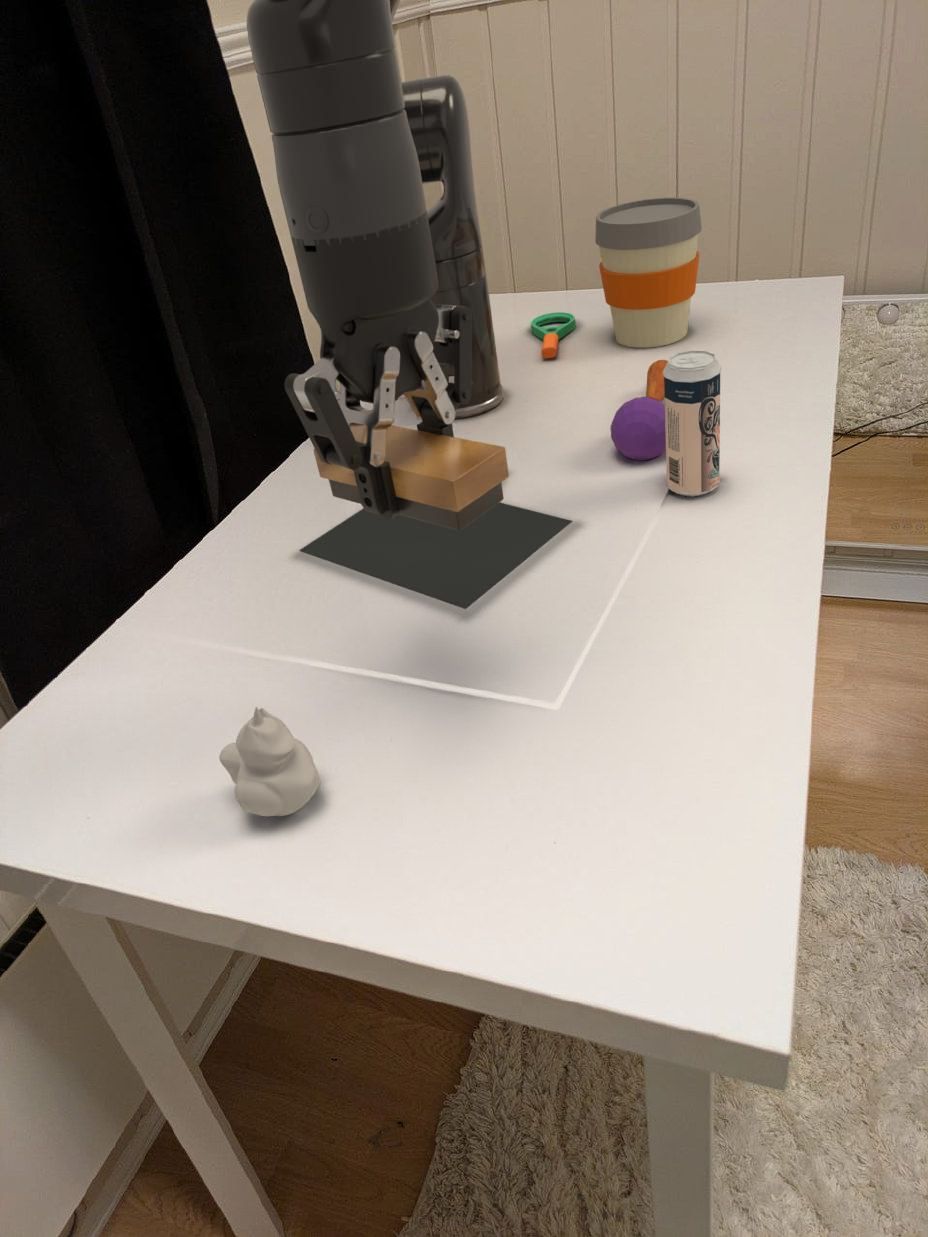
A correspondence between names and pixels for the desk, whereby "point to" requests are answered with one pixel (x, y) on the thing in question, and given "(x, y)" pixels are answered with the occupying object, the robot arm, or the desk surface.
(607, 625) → the desk surface
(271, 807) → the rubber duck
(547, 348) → the toy tennis racket
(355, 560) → the mat
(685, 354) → the beer can
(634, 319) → the reusable coffee cup
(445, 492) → the brush
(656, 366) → the maraca
